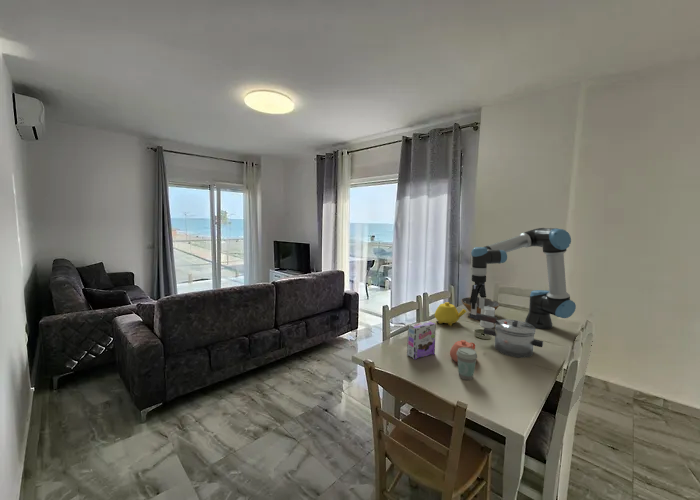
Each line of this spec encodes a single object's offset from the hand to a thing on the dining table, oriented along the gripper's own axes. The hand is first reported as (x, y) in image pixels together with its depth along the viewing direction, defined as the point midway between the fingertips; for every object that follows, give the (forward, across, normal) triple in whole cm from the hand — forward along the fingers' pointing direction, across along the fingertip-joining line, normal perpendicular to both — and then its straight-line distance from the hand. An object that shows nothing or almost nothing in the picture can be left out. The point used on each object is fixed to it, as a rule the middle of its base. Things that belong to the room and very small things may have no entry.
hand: (477, 311), depth 172 cm
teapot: (+17, -17, -23) cm, 33 cm away
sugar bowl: (+17, +30, +4) cm, 34 cm away
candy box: (+16, +38, -15) cm, 44 cm away
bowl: (+18, -47, -13) cm, 52 cm away
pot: (+17, 0, +19) cm, 26 cm away
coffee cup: (+17, +45, +10) cm, 49 cm away
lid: (+5, 0, +12) cm, 13 cm away
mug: (+18, -26, -3) cm, 31 cm away
